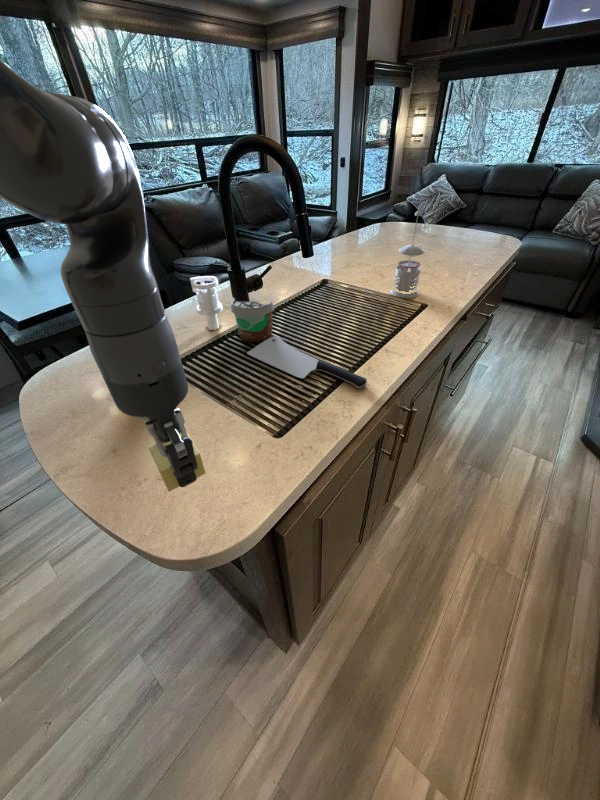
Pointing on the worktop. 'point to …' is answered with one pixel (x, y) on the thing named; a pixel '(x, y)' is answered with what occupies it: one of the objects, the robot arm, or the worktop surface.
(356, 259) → the worktop surface
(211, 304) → the white plastic fitting
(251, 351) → the kitchen cleaver
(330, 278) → the worktop surface
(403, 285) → the french press
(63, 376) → the worktop surface
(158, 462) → the butter
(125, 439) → the worktop surface
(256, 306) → the food container
